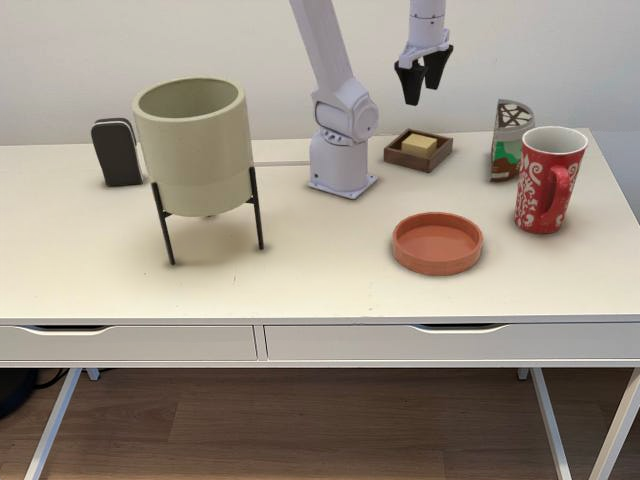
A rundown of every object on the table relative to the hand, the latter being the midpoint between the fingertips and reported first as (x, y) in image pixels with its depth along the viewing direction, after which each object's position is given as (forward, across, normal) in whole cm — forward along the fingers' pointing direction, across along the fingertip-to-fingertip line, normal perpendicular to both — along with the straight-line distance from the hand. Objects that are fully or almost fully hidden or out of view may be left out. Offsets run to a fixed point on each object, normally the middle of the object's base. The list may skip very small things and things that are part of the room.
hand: (421, 96), depth 116 cm
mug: (+10, -16, -29) cm, 34 cm away
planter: (+9, -44, +13) cm, 47 cm away
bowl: (+9, -28, -18) cm, 35 cm away
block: (+9, -4, -2) cm, 10 cm away
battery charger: (+9, -37, +40) cm, 55 cm away
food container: (+10, 0, -18) cm, 20 cm away
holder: (+9, -4, -2) cm, 10 cm away
